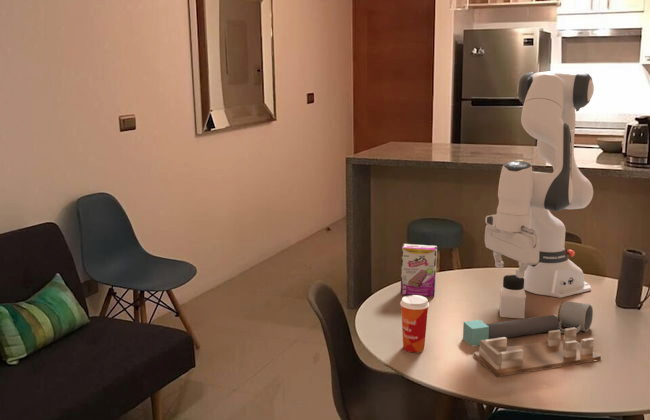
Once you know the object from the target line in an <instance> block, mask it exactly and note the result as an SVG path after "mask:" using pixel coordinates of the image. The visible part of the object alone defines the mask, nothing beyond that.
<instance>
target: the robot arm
mask: <svg viewBox="0 0 650 420" xmlns="http://www.w3.org/2000/svg"><path fill="white" fill-rule="evenodd" d="M594 90H595V89H594V82H593V78H592V76H591V75H590V74H589V73H586V72H582V71H577V72H574V71H567V70H553V71H541V72H540V71H539V72H536V71H531V72H526V73H525V74H523V75H522V76H521V77H520V80H519V82H518V85H517V96H518V100H519V102H520V103H521V104H522V110H521V115H520V116H521V117H520V124H521V125H522V128H523V129H524V131H525V132H526V133H527V134H528V135H529V136H530V137H532V138H534V139H535V140H537V141H536V153H537V155H538V157H539V158H540V159H541V160H543V161H544V162H547V163H548V164H549V165H551V166H552V169H553V172H541V171H533V166H532V164H530V163H529V162H527V161H522V160H514V161H508V162H506V163H504V164H503V165H502V167H501V171H500V177H499V182H498V188H497V189H498V190H497V198H498V204H497V208H496V214H491V215H486V216H485V220H484V221H485V222H484V223H485V224H486V226H485V229H484V245H485V248H487V249H488V250H491V251H493V252H492V256H493V258H494V261H495V262H494V267H496V268H498V269H503V268H504V264H505V262H504V261H503V257H504V256H505V257H507V258H510V259H512V260H514V261H516V262H518V266H519V267H518V270H515V276H516V277H518V278H524V290H525V292H526V291H527V292H528V293H533V294H536V295H540V296H541V295H542V296H548V297H549V296H550V297H553V298H554V297H555V298H566V297H568V296H569V297H570V296H572V295H576V294H577V295H578V294H581V293H585V292H589V291H592V287H591V285H590V284H589V283H588V282H586V281H585V276H584V272H583V270H582V269H581V267H579V266H578V265H577V264H575V263H574V262H573V261H572V260H570V259H569V256H570V257H574V256H575V255H576V253H575V252H576V251H575V250H572V249H567V248H565V242H566V226H565V224H564V223H563V221H562V220H561V219H559V218H557V217H556V216H554V214H553V213H551V211H553V212H560V211H562V210H578V209H579V210H580V209H585V208H586V207H588V205H589V204H590V203H591V201H592V199H593V198H594V197H593V196H594V188H593V185H592V182H591V181H590V180H589V179H588V178H587V177H586V176H585V175H584V174H583V173H582V171H581V170H580V169H579V167H578V166H577V163H576V160H575V153H574V150H575V148H574V147H575V133H576V132H575V131H576V112H579V111H580V109H581V108H584V107H585V106H587V105H588V104H589V103H590V101H591V99H592V98H593V95H594Z"/></svg>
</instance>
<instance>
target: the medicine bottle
mask: <svg viewBox="0 0 650 420" xmlns="http://www.w3.org/2000/svg"><path fill="white" fill-rule="evenodd" d="M515 274H516V273H515ZM515 274H514V273H513V274H512V273H511V274H507V275H504V276H503V278H502V279H503V280H502V281H503V282H502V287H500V288H499V302H498V304H499V306H498V310H499V316H500V318H508V319H518V320H520V319H526V305H527V304H526V303H527V295H526V290H524V278H518V277H516V276H515Z"/></svg>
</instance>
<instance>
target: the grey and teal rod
mask: <svg viewBox="0 0 650 420" xmlns="http://www.w3.org/2000/svg"><path fill="white" fill-rule="evenodd" d="M462 327H463V329H462V331H463V332H462V339H463V341H464V342H466V343H467V344H469V345H470V346H471V347H475V346H480V340H487V339H494V338H501V337H506V338H507V339H508V338H513V337H514V338H515V337H520V336H527V335H534V334H541V333H549V331H553V330H559V321H558V318H557V315H555V314H550V315H544V316H535V317H529V318H524V319H515V320H508V321H498V322H491V323H485V322H483V321H482V320H481V319H475V320H470V321H469V320H467V321H463V326H462Z"/></svg>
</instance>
